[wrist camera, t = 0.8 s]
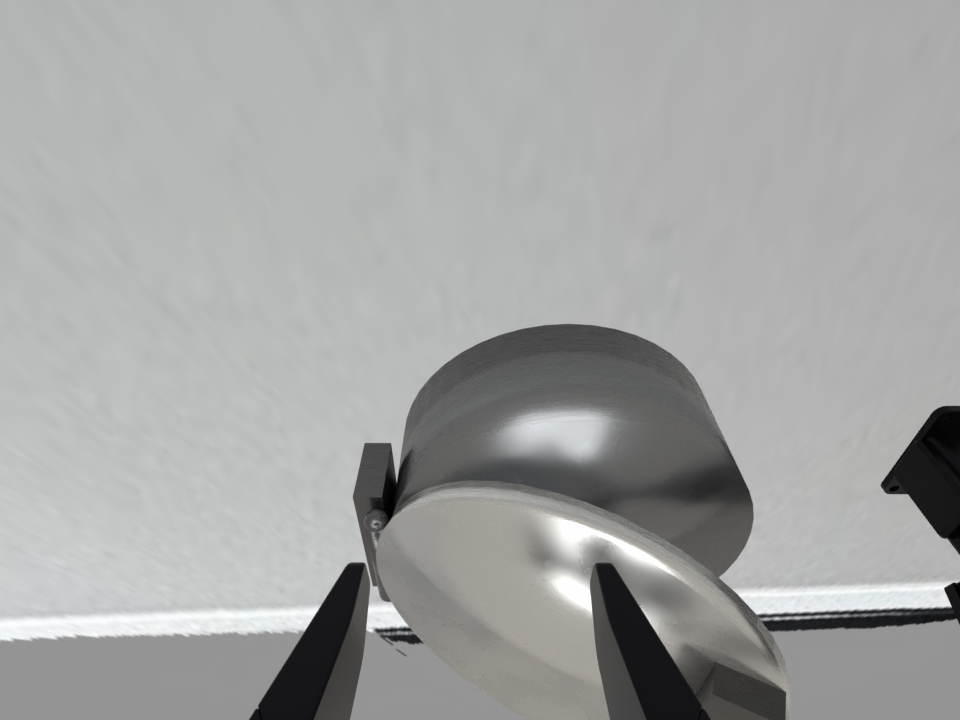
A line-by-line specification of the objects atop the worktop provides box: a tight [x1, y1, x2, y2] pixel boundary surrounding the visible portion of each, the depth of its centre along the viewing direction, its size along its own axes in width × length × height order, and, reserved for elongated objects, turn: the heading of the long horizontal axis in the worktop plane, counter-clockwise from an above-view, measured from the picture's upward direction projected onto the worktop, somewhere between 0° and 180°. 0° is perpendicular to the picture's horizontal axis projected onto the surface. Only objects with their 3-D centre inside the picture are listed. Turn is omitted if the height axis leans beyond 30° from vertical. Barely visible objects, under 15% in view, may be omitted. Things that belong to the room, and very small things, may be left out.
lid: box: [364, 480, 790, 720], centre depth 21 cm, size 16×16×2 cm
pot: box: [353, 324, 754, 586], centre depth 27 cm, size 17×16×6 cm
